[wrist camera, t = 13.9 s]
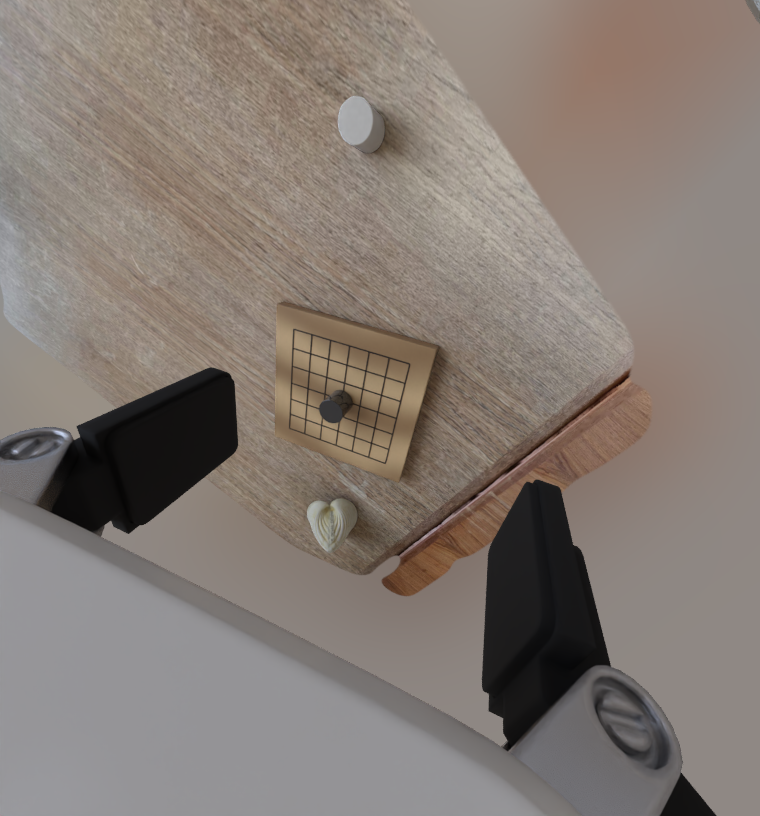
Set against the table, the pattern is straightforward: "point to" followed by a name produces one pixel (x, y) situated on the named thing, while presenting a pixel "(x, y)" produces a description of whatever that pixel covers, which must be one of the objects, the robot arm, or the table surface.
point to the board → (349, 388)
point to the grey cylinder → (361, 124)
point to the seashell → (332, 522)
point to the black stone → (336, 406)
